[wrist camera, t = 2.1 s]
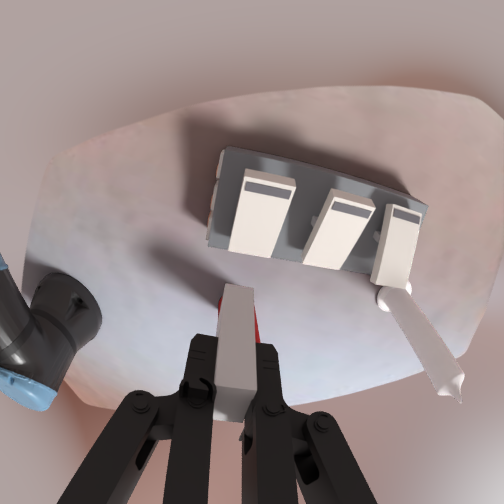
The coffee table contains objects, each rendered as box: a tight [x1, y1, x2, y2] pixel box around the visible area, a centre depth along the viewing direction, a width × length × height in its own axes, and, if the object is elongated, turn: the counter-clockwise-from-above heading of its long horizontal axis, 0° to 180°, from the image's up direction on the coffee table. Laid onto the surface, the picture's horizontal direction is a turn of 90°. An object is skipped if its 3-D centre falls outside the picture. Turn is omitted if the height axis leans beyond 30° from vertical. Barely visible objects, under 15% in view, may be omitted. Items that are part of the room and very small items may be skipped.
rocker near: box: [228, 169, 296, 258], centre depth 30 cm, size 5×10×2 cm, turn 168°
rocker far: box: [370, 204, 422, 289], centre depth 32 cm, size 5×10×2 cm, turn 168°
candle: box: [377, 281, 464, 403], centre depth 34 cm, size 7×7×25 cm
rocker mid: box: [301, 188, 376, 270], centre depth 31 cm, size 5×10×2 cm, turn 168°
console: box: [206, 146, 428, 275], centre depth 35 cm, size 29×12×7 cm, turn 78°
